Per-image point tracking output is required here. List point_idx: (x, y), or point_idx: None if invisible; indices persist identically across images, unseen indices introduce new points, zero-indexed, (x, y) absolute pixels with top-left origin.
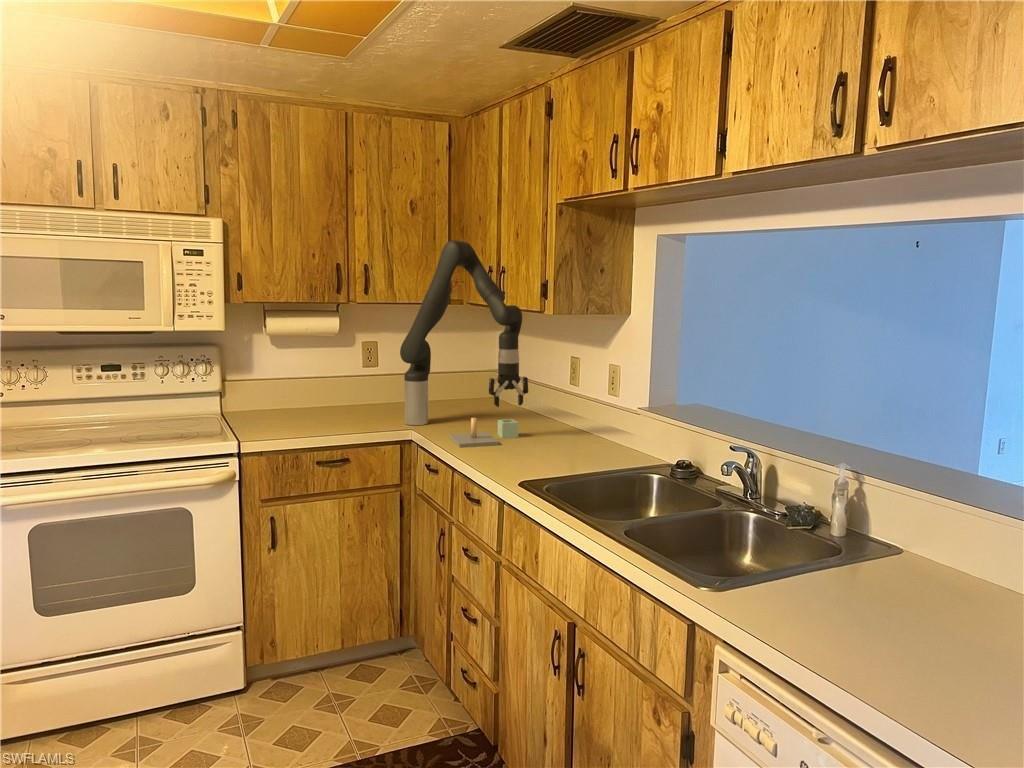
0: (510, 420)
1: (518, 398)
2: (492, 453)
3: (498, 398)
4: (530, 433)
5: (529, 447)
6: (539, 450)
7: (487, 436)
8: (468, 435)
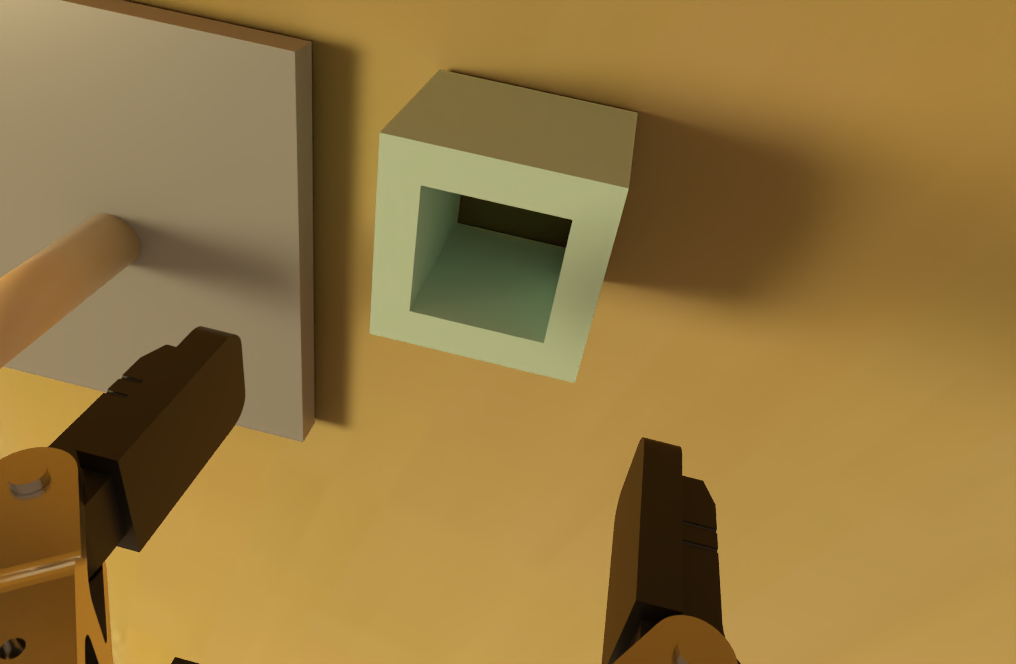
0: (557, 214)
1: (631, 548)
2: (222, 536)
3: (149, 519)
4: (869, 153)
5: (506, 545)
6: (527, 615)
7: (249, 251)
8: (64, 123)
